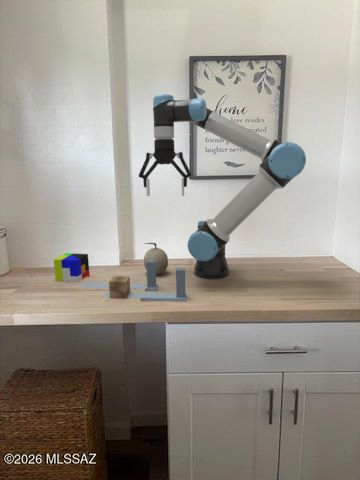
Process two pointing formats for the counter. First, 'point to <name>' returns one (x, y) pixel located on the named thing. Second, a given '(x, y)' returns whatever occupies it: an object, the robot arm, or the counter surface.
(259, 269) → the counter surface
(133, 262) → the counter surface
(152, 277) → the lane
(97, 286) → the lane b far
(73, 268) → the puzzle toy
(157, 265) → the fruit
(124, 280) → the cube
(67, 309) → the counter surface
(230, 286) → the counter surface
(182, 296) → the strip
